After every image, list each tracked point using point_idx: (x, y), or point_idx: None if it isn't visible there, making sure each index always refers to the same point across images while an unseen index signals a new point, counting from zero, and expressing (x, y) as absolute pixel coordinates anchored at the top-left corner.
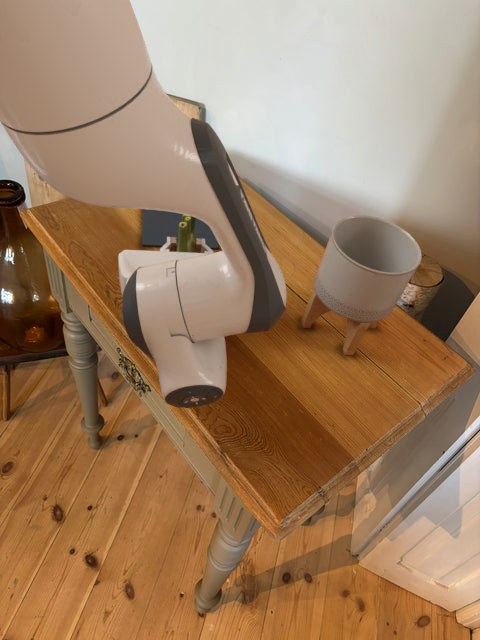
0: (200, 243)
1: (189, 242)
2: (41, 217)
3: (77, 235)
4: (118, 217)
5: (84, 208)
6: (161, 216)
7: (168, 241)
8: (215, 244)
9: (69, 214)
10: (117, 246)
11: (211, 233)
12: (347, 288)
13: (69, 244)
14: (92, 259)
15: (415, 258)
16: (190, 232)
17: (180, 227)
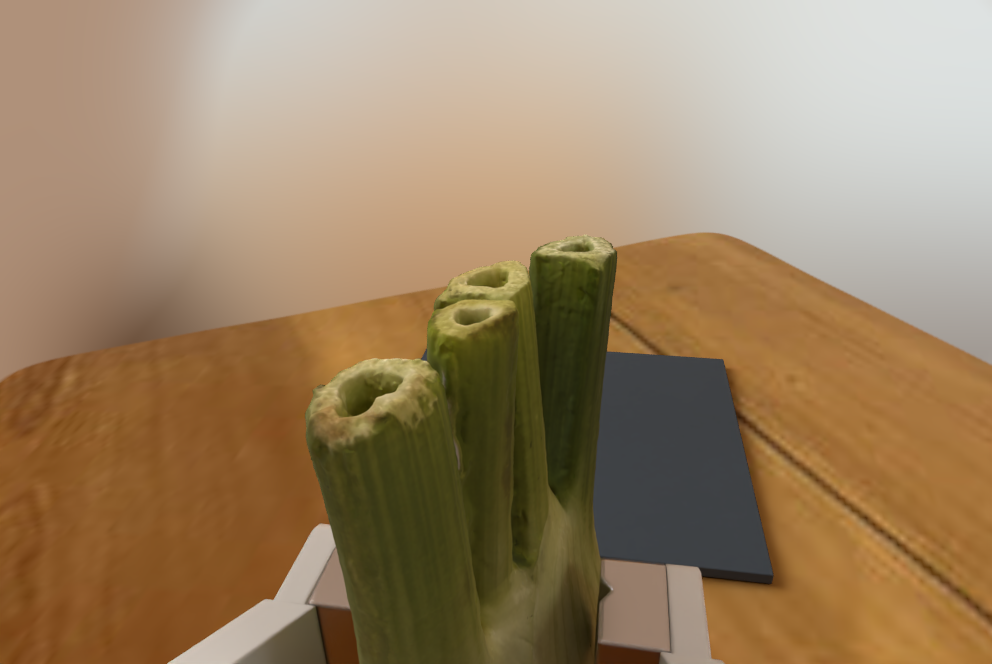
0: (648, 636)
1: (523, 609)
2: (15, 383)
3: (78, 462)
4: (305, 391)
5: (200, 356)
6: None
7: (294, 584)
8: (752, 551)
9: (127, 375)
10: (213, 529)
11: (723, 481)
12: None
13: (2, 505)
14: (29, 603)
15: None
16: (538, 497)
17: (311, 433)
